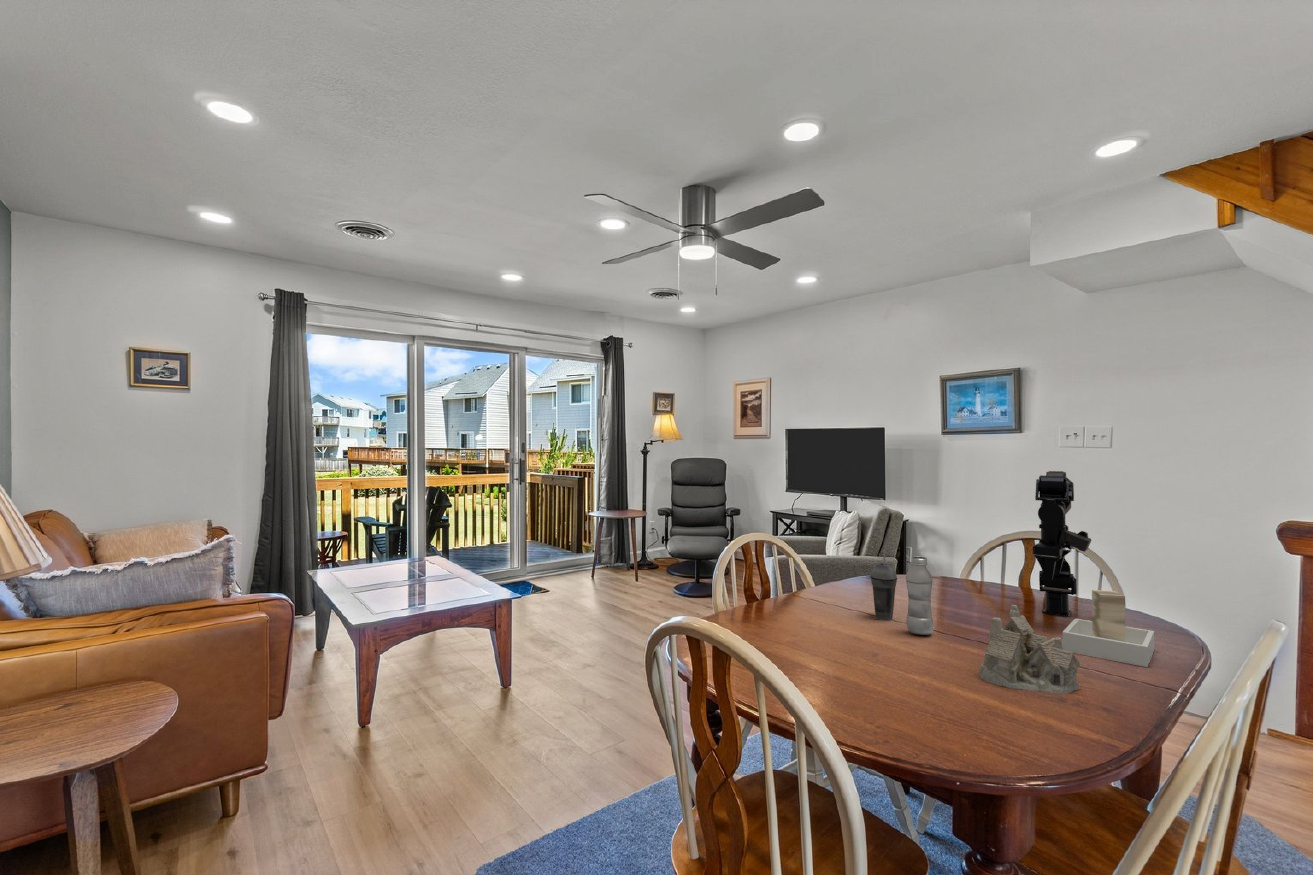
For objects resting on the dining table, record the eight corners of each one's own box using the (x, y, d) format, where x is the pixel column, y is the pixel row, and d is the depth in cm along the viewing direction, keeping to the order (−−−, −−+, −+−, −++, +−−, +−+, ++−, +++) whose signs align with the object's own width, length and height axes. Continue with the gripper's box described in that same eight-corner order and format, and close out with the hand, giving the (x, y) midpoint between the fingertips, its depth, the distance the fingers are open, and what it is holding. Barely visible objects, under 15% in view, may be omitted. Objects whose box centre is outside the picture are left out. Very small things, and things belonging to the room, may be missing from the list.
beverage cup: (893, 614, 179) (893, 546, 179) (901, 622, 171) (900, 550, 172) (867, 614, 179) (867, 546, 180) (874, 621, 172) (873, 550, 172)
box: (1075, 635, 159) (1075, 618, 159) (1154, 649, 148) (1154, 631, 148) (1062, 650, 147) (1062, 632, 147) (1147, 667, 136) (1147, 646, 136)
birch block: (1092, 642, 151) (1091, 589, 151) (1116, 644, 149) (1115, 591, 150) (1101, 649, 146) (1100, 594, 146) (1125, 651, 145) (1125, 595, 145)
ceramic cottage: (966, 672, 133) (971, 604, 132) (1019, 665, 139) (1024, 600, 139) (1034, 705, 119) (1040, 629, 118) (1090, 695, 125) (1096, 622, 124)
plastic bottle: (938, 637, 157) (937, 560, 158) (911, 637, 158) (911, 559, 158) (927, 630, 164) (927, 555, 164) (902, 630, 164) (901, 555, 164)
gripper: (1082, 527, 156) (1082, 588, 156) (1094, 520, 170) (1094, 576, 170) (1031, 523, 164) (1032, 581, 164) (1047, 517, 177) (1048, 571, 177)
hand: (1053, 577), depth 168 cm, fingers open, 9 cm apart
